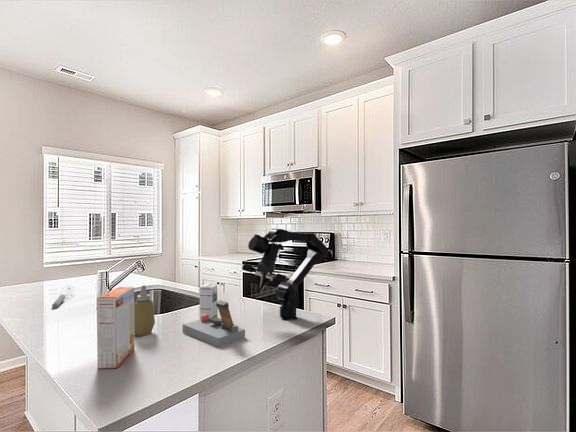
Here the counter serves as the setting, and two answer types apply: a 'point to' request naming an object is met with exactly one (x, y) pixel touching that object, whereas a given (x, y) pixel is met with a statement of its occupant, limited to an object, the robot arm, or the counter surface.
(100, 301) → the cracker box
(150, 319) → the squeeze bottle
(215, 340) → the panel
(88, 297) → the counter surface
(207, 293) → the syrup box
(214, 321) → the block
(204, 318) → the button
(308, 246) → the robot arm
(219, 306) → the lever
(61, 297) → the kitchen whisk
